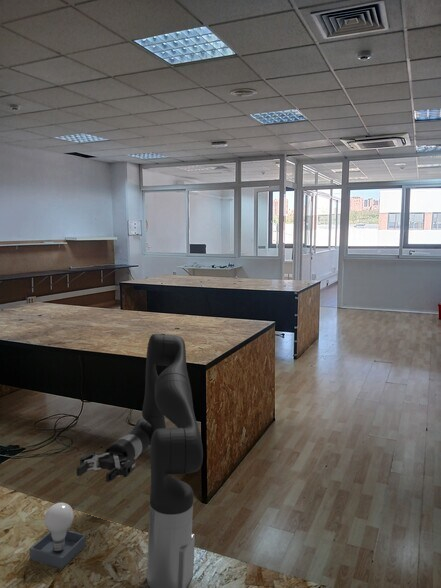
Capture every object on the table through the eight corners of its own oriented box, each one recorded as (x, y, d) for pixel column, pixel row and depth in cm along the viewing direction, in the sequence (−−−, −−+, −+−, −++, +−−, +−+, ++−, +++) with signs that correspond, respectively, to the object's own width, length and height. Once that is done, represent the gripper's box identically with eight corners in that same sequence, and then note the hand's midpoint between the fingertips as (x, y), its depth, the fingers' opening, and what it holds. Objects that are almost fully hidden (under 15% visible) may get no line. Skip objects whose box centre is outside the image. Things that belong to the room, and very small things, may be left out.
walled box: (86, 545, 106) (86, 535, 106) (62, 569, 98) (62, 557, 98) (54, 537, 109) (55, 526, 108) (29, 559, 100) (29, 548, 100)
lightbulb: (37, 552, 102) (38, 506, 101) (59, 538, 108) (60, 494, 107) (57, 562, 99) (58, 515, 98) (78, 547, 105) (79, 502, 104)
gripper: (103, 435, 131) (68, 456, 115) (147, 442, 126) (117, 465, 111) (102, 460, 131) (68, 484, 115) (146, 468, 127) (116, 495, 111)
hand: (92, 475), depth 113 cm, fingers open, 8 cm apart
